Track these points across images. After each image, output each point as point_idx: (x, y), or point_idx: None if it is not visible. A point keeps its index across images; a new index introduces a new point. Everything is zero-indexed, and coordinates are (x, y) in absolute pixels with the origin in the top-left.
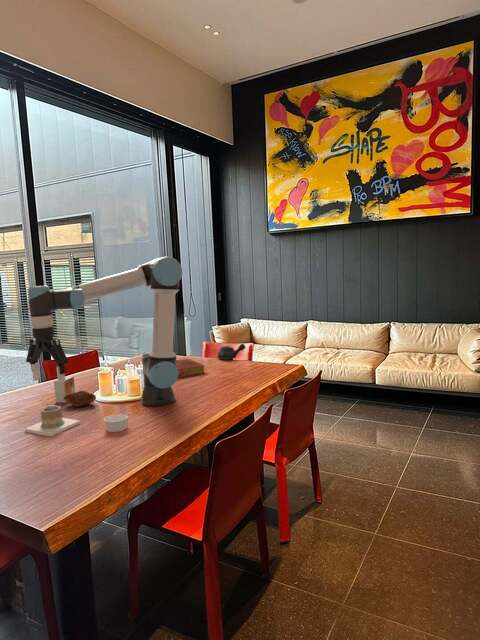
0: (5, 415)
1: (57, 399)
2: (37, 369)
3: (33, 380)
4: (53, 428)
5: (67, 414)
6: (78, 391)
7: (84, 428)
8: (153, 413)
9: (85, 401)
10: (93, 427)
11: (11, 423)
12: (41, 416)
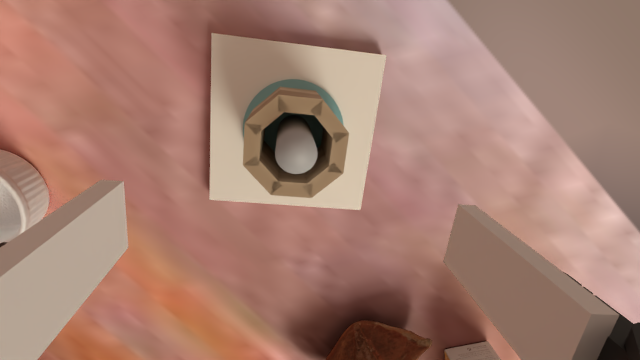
0: (601, 187)
1: (485, 351)
2: (507, 309)
3: (475, 206)
4: (251, 91)
5: (347, 259)
6: None
7: (145, 155)
8: None
9: (333, 353)
10: (116, 174)
11: (515, 121)
12: (318, 95)
